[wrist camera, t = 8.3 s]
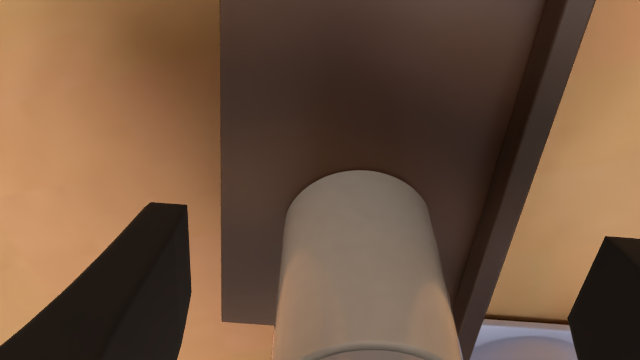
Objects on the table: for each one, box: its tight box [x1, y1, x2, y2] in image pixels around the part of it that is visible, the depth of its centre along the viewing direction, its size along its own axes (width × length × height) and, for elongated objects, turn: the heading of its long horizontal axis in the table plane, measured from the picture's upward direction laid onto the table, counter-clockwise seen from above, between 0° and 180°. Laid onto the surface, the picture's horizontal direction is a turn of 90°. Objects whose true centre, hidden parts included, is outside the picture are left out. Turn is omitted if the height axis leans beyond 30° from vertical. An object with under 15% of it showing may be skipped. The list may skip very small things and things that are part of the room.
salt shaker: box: [271, 170, 463, 360], centre depth 14 cm, size 4×4×6 cm
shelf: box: [220, 0, 596, 360], centre depth 16 cm, size 15×8×6 cm, turn 175°
